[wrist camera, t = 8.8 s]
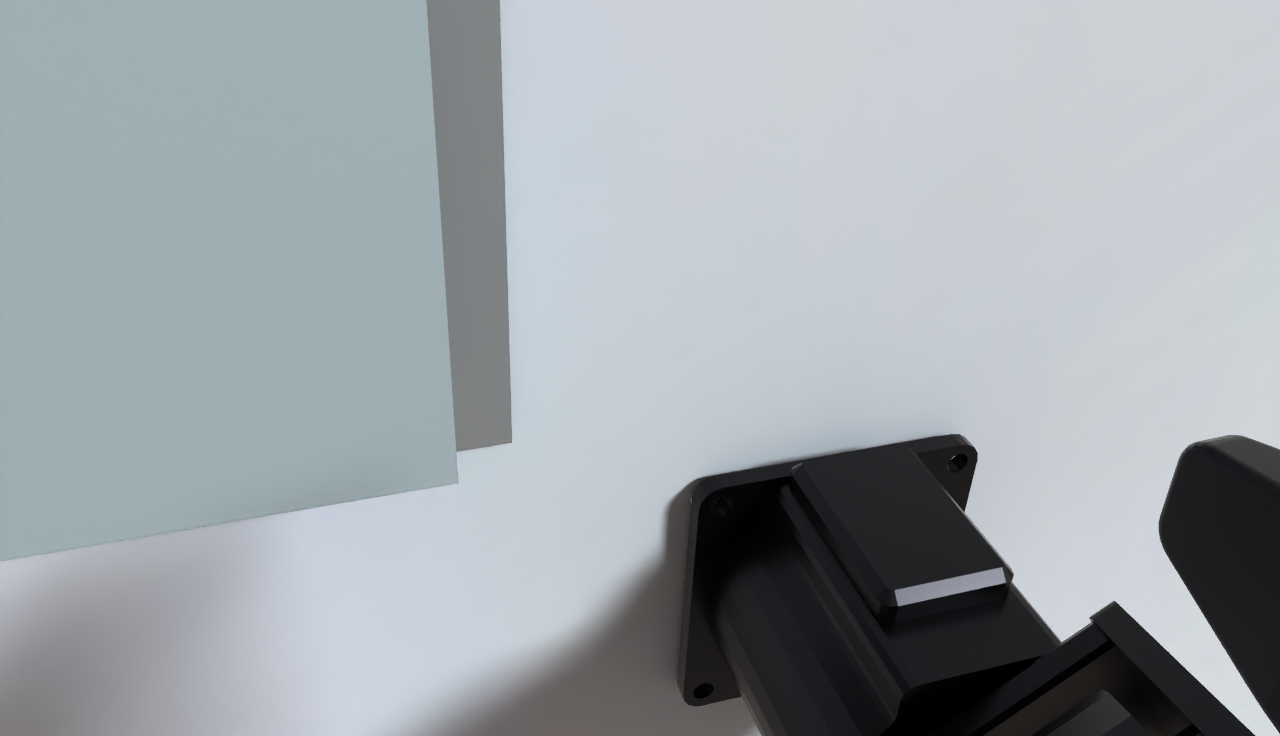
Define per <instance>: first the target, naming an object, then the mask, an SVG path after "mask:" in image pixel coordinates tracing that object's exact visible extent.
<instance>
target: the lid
mask: <svg viewBox="0 0 1280 736" xmlns="http://www.w3.org/2000/svg"><path fill="white" fill-rule="evenodd" d="M456 483H458V471H457V455H456V440H455V425H454V410H453V395H452V380H451V365H450V350H449V334H448V319H447V304H446V289H445V274H444V259H443V244H442V229H441V213H440V198H439V183H438V168H437V153H436V138H435V123H434V108H433V92H432V77H431V62H430V47H429V32H428V17H427V2H426V0H0V561H4V560H10V559H16V558H22V557H27V556H33V555H39V554H45V553H51V552H57V551H63V550H69V549H74V548H80V547H86V546H92V545H98V544H104V543H110V542H116V541H121V540H127V539H133V538H139V537H145V536H151V535H157V534H163V533H168V532H174V531H180V530H186V529H192V528H198V527H204V526H210V525H215V524H221V523H227V522H233V521H239V520H245V519H251V518H257V517H263V516H268V515H274V514H280V513H286V512H292V511H298V510H304V509H310V508H315V507H321V506H327V505H333V504H339V503H345V502H351V501H357V500H362V499H368V498H374V497H380V496H386V495H392V494H398V493H404V492H409V491H415V490H421V489H427V488H433V487H439V486H445V485H451V484H456Z"/></svg>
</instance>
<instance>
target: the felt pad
mask: <svg viewBox="0 0 1280 736" xmlns="http://www.w3.org/2000/svg"><path fill="white" fill-rule="evenodd" d="M426 2H427V17H428V32H429V47H430V62H431V77H432V92H433V108H434V123H435V138H436V153H437V168H438V183H439V198H440V213H441V229H442V244H443V259H444V274H445V289H446V304H447V319H448V334H449V350H450V365H451V380H452V395H453V410H454V425H455V440H456V451H463V450H469V449H475V448H481V447H488V446H494V445H500V444H507V443H512V427H511V392H510V356H509V321H508V285H507V249H506V214H505V178H504V143H503V107H502V72H501V36H500V1H499V0H426Z"/></svg>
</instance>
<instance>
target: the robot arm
mask: <svg viewBox="0 0 1280 736" xmlns="http://www.w3.org/2000/svg"><path fill="white" fill-rule="evenodd" d="M955 455H956V456H955ZM954 456H955V457H954ZM952 457H954V458H953V459H951V458H952ZM950 459H951V460H950ZM976 463H977V451H976V449H975V448H974V447H973V446H972V444H971V443H970V442H969V441H968V440H967V439H966V438H965V437H964V436H962V435H960V434H951V435H945V436H939V437H934V438H928V439H922V440H917V441H911V442H905V443H900V444H894V445H888V446H883V447H877V448H871V449H866V450H860V451H854V452H848V453H843V454H837V455H831V456H826V457H820V458H814V459H809V460H803V461H797V462H792V463H786V464H780V465H775V466H769V467H763V468H757V469H752V470H746V471H740V472H735V473H729V474H723V475H718V476H714V477H711V478H708V479H706V480H705V481H704V482H702V483H701V484H699V486H698V487H697V488H696V490H695V491H694V494H693V497H692V504H691V516H690V529H689V542H688V554H687V567H686V579H685V592H684V605H683V617H682V630H681V642H680V655H679V667H678V680H677V684H678V688H679V690H680V693H681V695H682V697H683V699H684V701H685V702H686V703H687V704H688V705H692V706H702V705H707V704H711V703H715V702H719V701H724V700H728V699H732V698H737V697H741V696H742V697H743V699H744V701H745V703H746V705H747V707H748V709H749V711H750V713H751V715H752V717H753V719H754V721H755V723H756V725H757V727H758V729H759V731H760V733H761V735H762V736H1255V735H1254V734H1253V733H1252V732H1251V731H1250V730H1249V729H1248V728H1247V727H1246V726H1245V725H1244V724H1242V723H1241V722H1240V721H1239V720H1238V719H1237V718H1236V717H1235V716H1234V715H1233V714H1232V713H1231V712H1230V711H1229V710H1228V709H1227V708H1226V707H1225V706H1224V705H1223V704H1222V703H1221V702H1220V701H1219V700H1217V699H1216V698H1215V697H1214V696H1213V695H1212V694H1211V693H1210V692H1209V691H1208V690H1207V689H1206V688H1205V687H1204V686H1203V685H1202V684H1201V683H1200V682H1199V681H1198V680H1197V679H1196V678H1195V677H1194V676H1192V675H1191V674H1190V673H1189V672H1188V671H1187V670H1186V669H1185V668H1184V667H1183V666H1182V665H1181V664H1180V663H1179V662H1178V661H1177V660H1176V659H1175V658H1174V657H1173V656H1172V655H1171V654H1170V653H1169V652H1168V651H1166V650H1165V649H1164V648H1163V647H1162V646H1161V645H1160V644H1159V643H1158V642H1157V641H1156V640H1155V639H1154V638H1153V637H1152V636H1151V635H1150V634H1149V633H1148V632H1147V631H1146V630H1145V629H1144V628H1143V627H1141V626H1140V625H1139V624H1138V623H1137V622H1136V621H1135V620H1134V619H1133V618H1132V617H1131V616H1130V615H1129V614H1128V613H1127V612H1126V611H1125V610H1124V609H1123V608H1122V607H1121V606H1120V605H1119V604H1118V603H1116V602H1115V601H1113V602H1111V603H1110V604H1108V605H1107V606H1105V607H1104V608H1102V609H1101V610H1100V611H1098V612H1097V613H1095V614H1094V615H1092V616H1091V617H1089V618H1090V620H1091V623H1090V624H1088V625H1087V626H1085V627H1084V628H1082V629H1081V630H1080V631H1078V632H1077V633H1075V634H1074V635H1072V636H1071V637H1069V638H1068V639H1066V640H1065V641H1063V642H1061V641H1060V639H1059V638H1058V637H1057V636H1056V635H1055V633H1054V632H1053V631H1052V630H1051V629H1050V627H1049V626H1048V625H1047V624H1046V622H1045V621H1044V620H1043V619H1042V618H1041V616H1040V615H1039V614H1038V613H1037V612H1036V610H1035V609H1034V608H1033V607H1032V605H1031V604H1030V603H1029V602H1028V601H1027V599H1026V598H1025V597H1024V596H1023V595H1022V593H1021V592H1020V591H1019V590H1018V588H1017V587H1016V586H1015V585H1014V584H1013V582H1012V579H1013V576H1014V574H1013V572H1012V569H1011V568H1010V567H1009V565H1008V564H1007V563H1006V562H1005V561H1004V559H1003V558H1002V557H1001V556H1000V555H999V553H998V552H997V551H996V550H995V549H994V547H993V546H992V545H991V544H990V543H989V541H988V540H987V539H986V538H985V537H984V535H983V534H982V533H981V532H980V531H979V529H978V528H977V527H976V526H975V525H974V523H973V522H972V521H971V520H970V519H969V517H968V516H967V515H966V514H965V513H964V512H965V508H966V504H967V500H968V496H969V492H970V487H971V483H972V479H973V475H974V471H975V467H976ZM721 497H724V498H723V499H722V500H721V501H720V502H718V503H716V504H712V503H713V502H714V501H715V500H716V499H718V498H721ZM1159 535H1160V540H1161V543H1162V546H1163V549H1164V550H1165V552H1166V554H1167V556H1168V558H1169V559H1170V561H1171V562H1172V564H1173V566H1174V567H1175V569H1176V571H1177V572H1178V574H1179V575H1180V577H1181V579H1182V580H1183V582H1184V584H1185V585H1186V587H1187V589H1188V590H1189V592H1190V593H1191V595H1192V597H1193V598H1194V600H1195V602H1196V603H1197V605H1198V606H1199V608H1200V610H1201V611H1202V613H1203V615H1204V616H1205V618H1206V619H1207V621H1208V623H1209V624H1210V626H1211V628H1212V629H1213V631H1214V632H1215V634H1216V636H1217V637H1218V639H1219V641H1220V642H1221V644H1222V645H1223V647H1224V649H1225V650H1226V652H1227V654H1228V655H1229V657H1230V658H1231V660H1232V662H1233V663H1234V665H1235V667H1236V668H1237V670H1238V671H1239V673H1240V675H1241V676H1242V678H1243V680H1244V681H1245V683H1246V684H1247V686H1248V688H1249V689H1250V691H1251V692H1252V694H1253V695H1254V697H1255V698H1256V700H1257V701H1258V703H1259V705H1260V706H1261V708H1262V709H1263V711H1264V712H1265V713H1266V715H1267V716H1268V718H1269V719H1270V720H1271V722H1272V723H1273V725H1274V726H1275V727H1276V729H1277V730H1278V732H1279V733H1280V449H1277V448H1274V447H1272V446H1269V445H1266V444H1263V443H1261V442H1258V441H1255V440H1253V439H1250V438H1247V437H1244V436H1239V435H1227V436H1222V437H1218V438H1213V439H1208V440H1203V441H1199V442H1195V443H1193V444H1191V445H1189V446H1188V447H1187V448H1186V449H1185V450H1184V451H1183V452H1182V454H1181V456H1180V458H1179V460H1178V463H1177V466H1176V469H1175V472H1174V475H1173V479H1172V482H1171V485H1170V488H1169V491H1168V494H1167V497H1166V500H1165V503H1164V506H1163V509H1162V512H1161V515H1160V520H1159Z"/></svg>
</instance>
